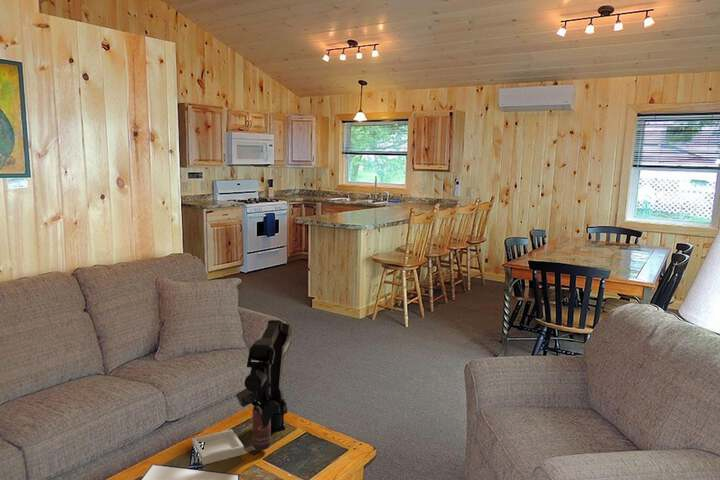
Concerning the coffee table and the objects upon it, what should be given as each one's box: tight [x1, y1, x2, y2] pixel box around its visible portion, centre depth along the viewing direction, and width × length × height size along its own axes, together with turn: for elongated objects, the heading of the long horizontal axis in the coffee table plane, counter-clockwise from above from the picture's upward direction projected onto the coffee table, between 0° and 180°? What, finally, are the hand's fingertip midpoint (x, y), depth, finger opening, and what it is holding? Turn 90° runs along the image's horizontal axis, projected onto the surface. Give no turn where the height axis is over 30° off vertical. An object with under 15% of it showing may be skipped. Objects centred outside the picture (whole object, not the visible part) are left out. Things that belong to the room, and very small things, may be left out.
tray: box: [191, 429, 245, 466], centre depth 181 cm, size 14×14×3 cm
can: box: [252, 404, 272, 451], centre depth 180 cm, size 6×6×14 cm
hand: (261, 423), depth 180 cm, fingers closed on can, 5 cm apart
